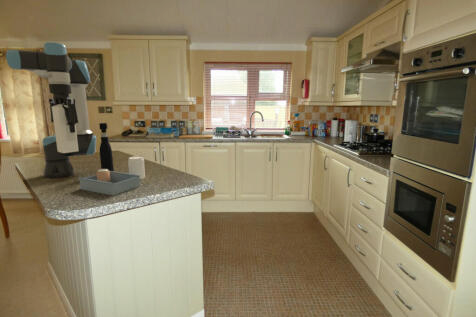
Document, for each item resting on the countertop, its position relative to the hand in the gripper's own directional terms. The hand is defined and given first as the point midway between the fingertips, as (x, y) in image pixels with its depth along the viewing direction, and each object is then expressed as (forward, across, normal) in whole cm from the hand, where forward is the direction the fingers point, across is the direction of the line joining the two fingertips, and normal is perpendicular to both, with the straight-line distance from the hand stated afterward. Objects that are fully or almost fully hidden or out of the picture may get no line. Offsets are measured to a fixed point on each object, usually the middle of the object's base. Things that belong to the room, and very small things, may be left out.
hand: (66, 139), depth 115 cm
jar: (+25, -2, +17) cm, 30 cm away
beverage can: (+26, +2, +35) cm, 43 cm away
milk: (+5, 0, 0) cm, 5 cm away
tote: (+26, +4, +16) cm, 30 cm away
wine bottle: (+26, -20, +34) cm, 47 cm away
